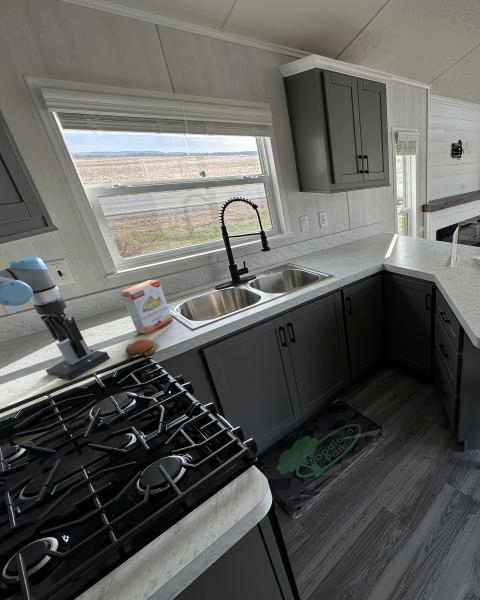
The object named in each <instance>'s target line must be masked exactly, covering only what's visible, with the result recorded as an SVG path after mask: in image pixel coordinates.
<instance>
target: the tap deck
mask: <svg viewBox="0 0 480 600" xmlns="http://www.w3.org/2000/svg"><path fill="white" fill-rule="evenodd" d="M89 350H90V352H91V355H89V356H87V357H86V358H84V359H82V360H80V361H78V362H76V363H74V364H72V365H70V364H68V363H67V362H66V360H65V359H64V360H62V361H60V362H58V363H57V364H55V365H52V366H50V367H49V368H47V369H45V372H46V373H47V375H48V376H49V375H50V376H55V377H57V379H60V380H65V381H69V382H70V381H72V380H75V379H76V378H78V377H79V376H81V375H84V374H85V373H87V372H89V371H90V370H92V369H94V368H96V367H97V366H99V365H102V364H104V362H106V361H108V360H110V359H111V357H110V356H109V353H108V351H107V352H106V351H101V350H95V349H90V348H89Z"/></svg>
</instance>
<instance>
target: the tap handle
mask: <svg viewBox="0 0 480 600" xmlns="http://www.w3.org/2000/svg"><path fill="white" fill-rule="evenodd" d="M80 342H81V344H82V346H83V347H84V349H85V351H86V353H87V355H86V356H84V357H82V358H80V359H78V357H77V356H76V354H75V352H74V350H73V348H72V347H71V345H70V343H71V342H70V340H69V339H66V340H64V341H62V342H57V343H56V346H57V348H58V350H59V352H60V353H61V355H62V356H63V358H64V360H66V362H67V363H68V364H70V365H72V364H74V363H76V362H78V361H80V360H82V359H84V358H86V357H87V356H89V355H91V352H90V350H91V349H90V348H89V347H88V344H87V342H86V340H85V338H83V340H81V341H80ZM89 349H90V350H89Z"/></svg>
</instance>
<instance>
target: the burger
mask: <svg viewBox="0 0 480 600" xmlns="http://www.w3.org/2000/svg"><path fill="white" fill-rule="evenodd" d="M154 342H155V341H154V340H152V339H151V338H150V339H149V338H141V339H137V340H135V341H134V342H131V343H130V344H127V345H126V347H125V353H127V354H128V358H129V359H131V358H132V357H134V356H136V355H140V354H148V356H150V355H151V354H153V353H155V352H156V350H157V348H156V346H155V345H154Z"/></svg>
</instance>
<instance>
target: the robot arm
mask: <svg viewBox="0 0 480 600" xmlns="http://www.w3.org/2000/svg"><path fill="white" fill-rule="evenodd" d="M8 266H9V268H5V269H1V270H0V305H3V306H10V307H19V306H23V305H25V304H27V303H28V302H30V303H31V304H33V309H35V311H36V314H38V315H40V317H39V318H40V320H42V322H43V323H44V325H45V327H46V328H47V330H48V331H49V333H50V335H51V337H52V338H53V339H54V340H55V341H56V340H57V341H58V343H60V342H62V341H64V340H66V339H69V340H70V342H71V343H70V345H71V347H72V348H73V350H74V352H75V354H76V356H77V357H78V359H80V358H82V357H84V356H86V355H87V353H86V351H85V349H84V347H83V346H82V344H81V342H80V341H81V340H83V339H84V337H83V335H82V333H81V331H80V329H79V327H78V324H77V323H76V319H75V317H74V316H68V315H67V314H66V312H65V311H64V310H65V309H66V308H67V306H68V305H67V304H66V302H65V300H64V298H63V297H62V295H61V293H60V291H59V287H57V285H56V284H55V281H54V280H53V277H52V276H51V273H50V272H49V268H47V266H46V265H45V263H44V262H43V260H42V258H40V257H39V256H26V257H25V256H24V257H20V258H15V259H13V260H10V261H9V263H8Z"/></svg>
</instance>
